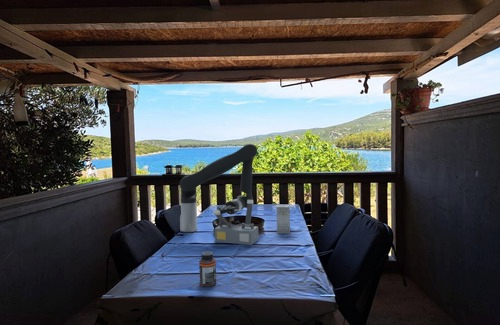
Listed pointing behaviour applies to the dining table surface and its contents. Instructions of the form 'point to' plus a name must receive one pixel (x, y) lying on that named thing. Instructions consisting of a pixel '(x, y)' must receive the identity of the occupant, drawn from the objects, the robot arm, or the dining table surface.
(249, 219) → the lever grey
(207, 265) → the supplement bottle
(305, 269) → the dining table surface
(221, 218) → the lever with pale knob
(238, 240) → the switch box
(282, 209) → the circuit breaker
